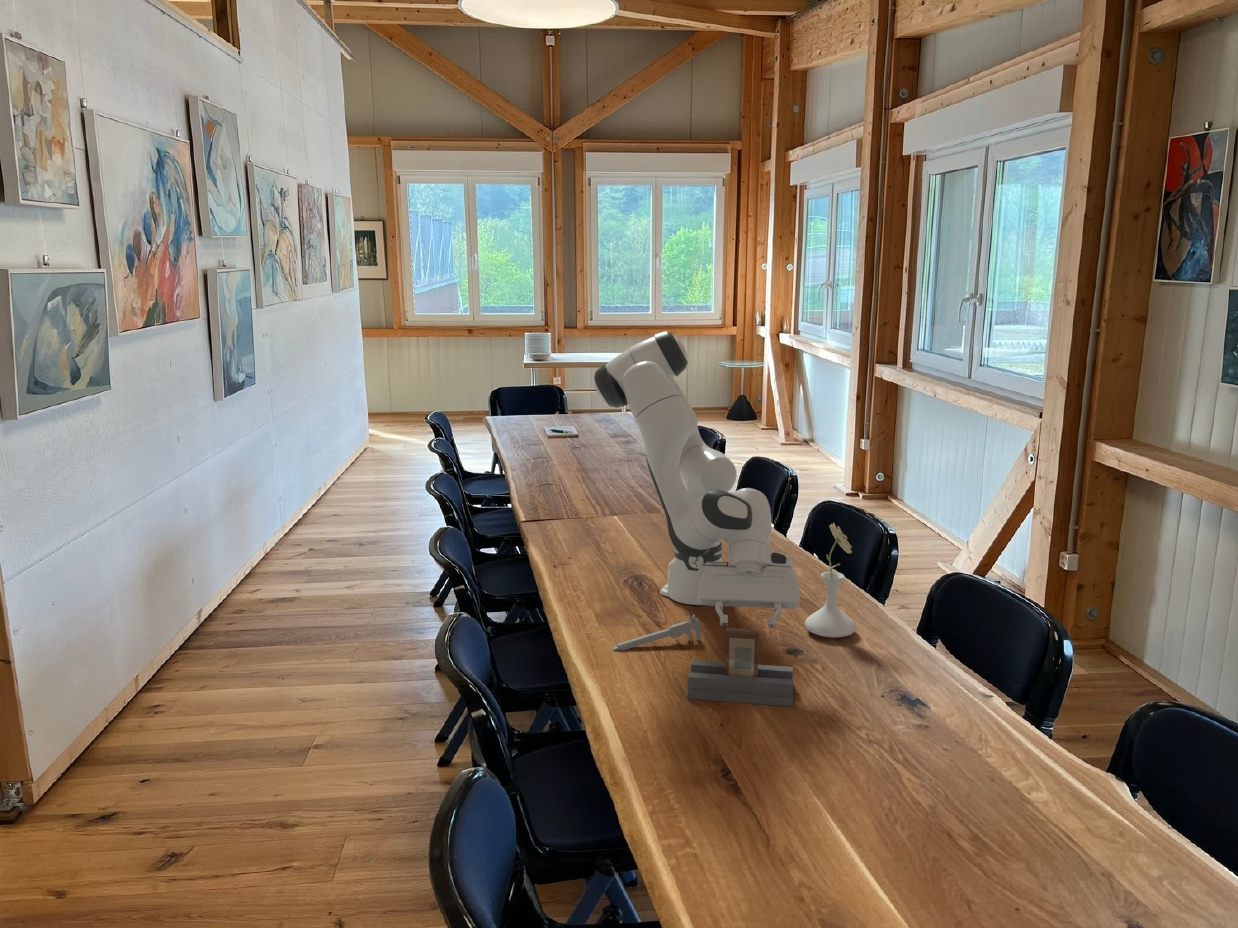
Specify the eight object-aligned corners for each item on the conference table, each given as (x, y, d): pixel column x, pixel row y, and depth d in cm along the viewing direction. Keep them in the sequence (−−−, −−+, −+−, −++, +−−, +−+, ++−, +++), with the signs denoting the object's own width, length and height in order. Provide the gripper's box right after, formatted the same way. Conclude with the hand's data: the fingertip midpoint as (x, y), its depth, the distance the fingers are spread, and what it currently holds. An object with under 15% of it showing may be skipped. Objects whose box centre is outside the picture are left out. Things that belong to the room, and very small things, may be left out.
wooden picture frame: (724, 679, 179) (726, 627, 177) (757, 682, 178) (759, 629, 176) (724, 685, 176) (725, 632, 174) (757, 688, 175) (758, 635, 173)
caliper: (698, 639, 203) (699, 613, 202) (700, 641, 202) (701, 615, 201) (611, 650, 198) (611, 623, 196) (613, 652, 196) (612, 625, 195)
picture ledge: (692, 676, 184) (692, 657, 183) (791, 683, 181) (792, 664, 180) (687, 698, 174) (687, 679, 174) (792, 706, 171) (793, 686, 170)
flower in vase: (856, 644, 200) (862, 535, 195) (804, 640, 202) (809, 532, 197) (853, 622, 212) (859, 519, 207) (804, 618, 214) (808, 517, 209)
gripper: (697, 554, 184) (694, 617, 177) (799, 557, 181) (800, 621, 174) (699, 567, 190) (696, 629, 182) (798, 571, 186) (799, 634, 179)
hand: (747, 625), depth 178 cm, fingers open, 8 cm apart
